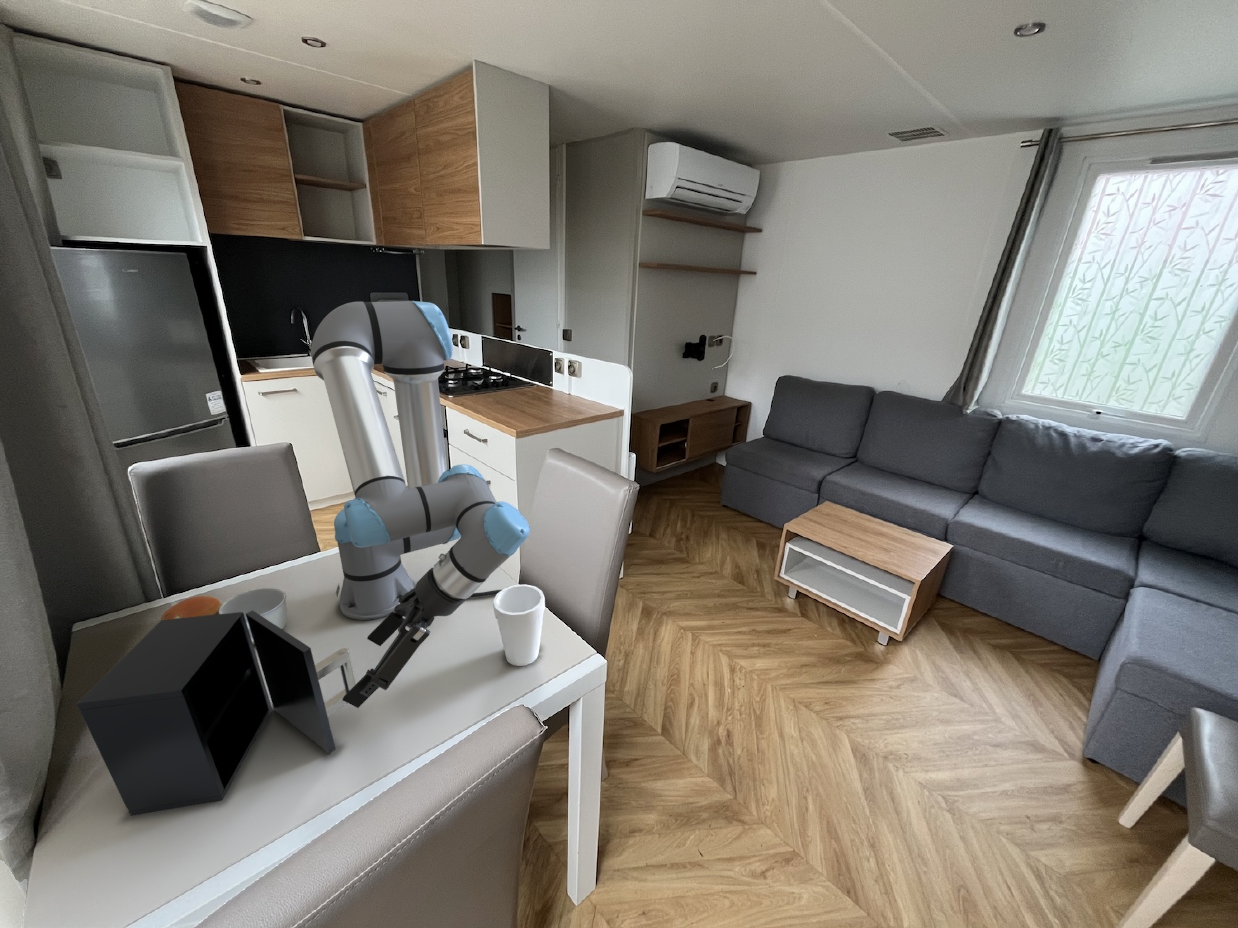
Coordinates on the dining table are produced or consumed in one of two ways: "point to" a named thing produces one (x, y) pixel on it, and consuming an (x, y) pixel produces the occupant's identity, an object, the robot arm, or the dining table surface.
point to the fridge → (179, 712)
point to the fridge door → (299, 679)
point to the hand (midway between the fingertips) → (363, 669)
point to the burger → (193, 608)
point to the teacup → (259, 605)
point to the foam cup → (520, 622)
